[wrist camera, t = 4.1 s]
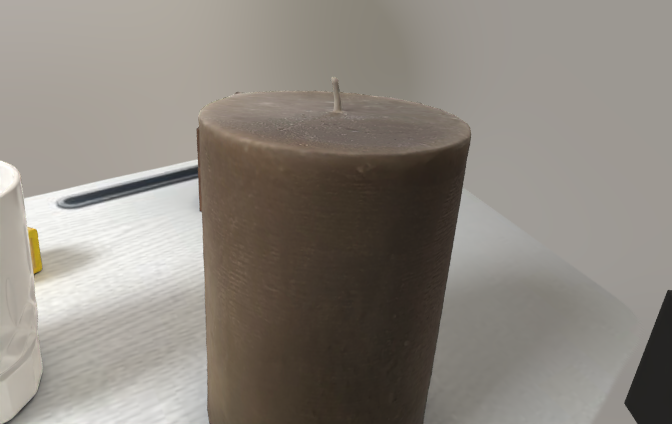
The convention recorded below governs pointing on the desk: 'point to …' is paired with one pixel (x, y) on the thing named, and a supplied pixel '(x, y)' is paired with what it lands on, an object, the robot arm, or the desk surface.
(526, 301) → the desk surface
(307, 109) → the pillar candle
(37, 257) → the alphabet block
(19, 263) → the white cup
